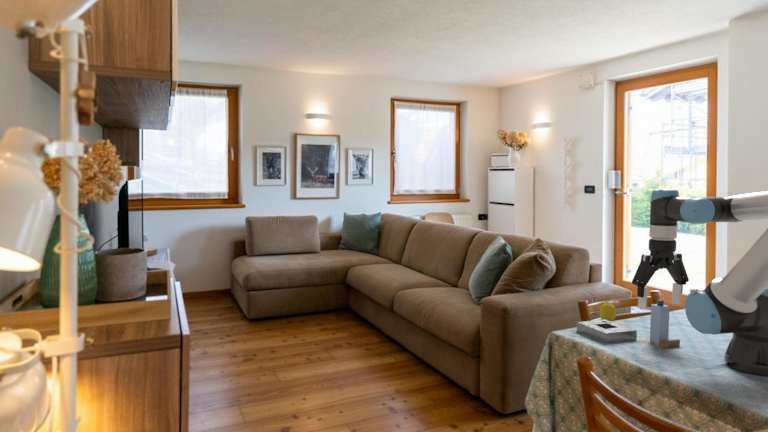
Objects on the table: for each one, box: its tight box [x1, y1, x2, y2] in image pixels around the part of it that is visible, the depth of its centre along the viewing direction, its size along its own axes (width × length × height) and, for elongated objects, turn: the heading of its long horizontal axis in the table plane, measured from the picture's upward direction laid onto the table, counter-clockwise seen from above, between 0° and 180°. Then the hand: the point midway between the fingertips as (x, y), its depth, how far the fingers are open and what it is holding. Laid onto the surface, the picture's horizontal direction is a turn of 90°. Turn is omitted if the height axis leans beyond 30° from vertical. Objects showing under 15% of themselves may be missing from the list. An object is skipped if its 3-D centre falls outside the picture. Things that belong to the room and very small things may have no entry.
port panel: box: [576, 319, 638, 344], centre depth 171 cm, size 14×12×4 cm
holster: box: [639, 337, 681, 349], centre depth 163 cm, size 9×7×3 cm
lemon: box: [599, 301, 617, 322], centre depth 188 cm, size 6×6×8 cm
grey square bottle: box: [649, 299, 670, 345], centre depth 162 cm, size 4×4×14 cm
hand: (659, 305), depth 162 cm, fingers open, 13 cm apart
